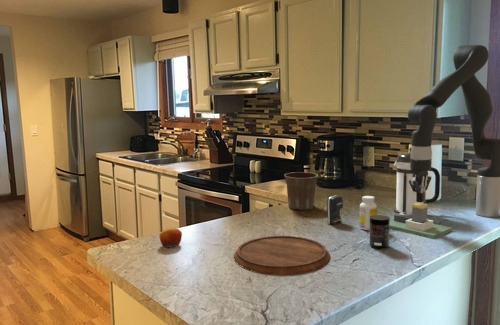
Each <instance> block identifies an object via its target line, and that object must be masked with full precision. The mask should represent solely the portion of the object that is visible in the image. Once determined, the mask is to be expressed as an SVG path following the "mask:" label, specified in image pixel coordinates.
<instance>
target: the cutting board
mask: <svg viewBox="0 0 500 325" xmlns="http://www.w3.org/2000/svg"><path fill="white" fill-rule="evenodd" d="M234 259H235V260H234ZM330 259H331V255H330V252H329V251H328V250H327V248H326V246H324V244H322V243H321V242H318V241H317V240H314V239H311V238H306V237H301V236H296V235H295V236H293V235H271V236H270V235H269V236H263V237H258V238H253V239H250V240H247V241H245V242H243V243H242V244H240V245H239V246H238V248H237V249H236V250H235V252H234V254H233V260H234V262H235V261H236V262H237V263H238V264H239V265H241V266H243V267H244V268H243V267H242V268H243V269H245V268H246V269H245V270H247V269H249V270H248V271H250V270H252V271H251V272H254V271H255V272H254V273H258V272H259V274H263V273H264V275H265V274H266V275H272V274H276V275H277V276H280V275H281V276H288V275H289V276H291V275H299V274H305V273H310V272H314V271H317V270H319V269H322V268H323V267H324V266H326V265H328V263H329V262H330ZM236 262H235V263H236ZM237 263H236V264H237ZM238 264H237V265H238ZM239 265H238V266H239ZM241 266H240V267H241Z"/></svg>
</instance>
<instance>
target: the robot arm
mask: <svg viewBox="0 0 500 325" xmlns="http://www.w3.org/2000/svg"><path fill="white" fill-rule="evenodd" d="M452 59H453V64H454V65H453V66H454V68H455V71H453V72H452V73H450V74H448V75H446V76H445V77H444V78H441V79H440V80H439V81H437V82H436V83H435V84H434V86H433V87H432V88H431V89H430V90H429V91H428V92H427V94H426V95H424V96H423V97H421V98H420V99H418V100H417V101H416V102H415V103H413V104H412V105H411V107H410V108H409V109H408V113H407V118H408V120H409V122H411V123H413V124H418V125H419V127H418V129H417V130H413V131H412V133H411V145H410V146H411V147H410V148H411V156H410V169H411V170H413V179H412V180H409V183H410V186H411V188H412V190H413V192H416V201H417V202H420V203H421V202H423V201H424V192H425V190H426V191H428V189H429V185H430V183H431V180H432V176H430V175H429V171H430V170H431V167H432V159H433V157H432V156H433V152H432V150H433V149H432V136H433V132H434V130H435V126H436V122H437V119H438V114H437V113H438V112H437V110H436V109H439V108H441V107H442V106H443V105H444V104H445V103H446V102H447V101H448V99H449V98H450V97H452V95H453V94H454V92H456V91H457V90H458V89H459V88H460V87H461V89H462V90H461V91H462V93H463V98H464V103H465V107H466V108H465V109H466V112H467V115H468V120H469V126H470V128H471V129H470V130H471V137H472V145H473V153H474V155H475V157H476V158H477V159H479V160H480V159H481V160H487V161H488V160H489V161H490V164H489V165H486V166H482V167H479V168H477V172H476V173H477V174H476V175H477V176H476V177H477V178H476V194H475V195H476V197H475V198H476V200H475V215H477V216H480V217H487V218H495V217H496V218H497V217H500V138H492V137H491V138H490V137H486V135H485V127H486V125H487V123H488V122H489V120H490V119H491V116H492V115H493V112H494V111H493V103H492V99H491V94H490V93H489V91H488V90H487V89H486V87H485V86H484V85H483V84H482V83H481V82H480V80H478V78H477V77H476V73H477V72H479V71H480V70H481V69H483V67H484V66H485V65H486V64H487V62H488V60H489V50H488V48H487V47H486V46H484V45H482V44H471V45H470V44H467V45H459V46H457V47H456V48H455V49H454V51H453V57H452ZM430 172H431V171H430Z"/></svg>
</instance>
